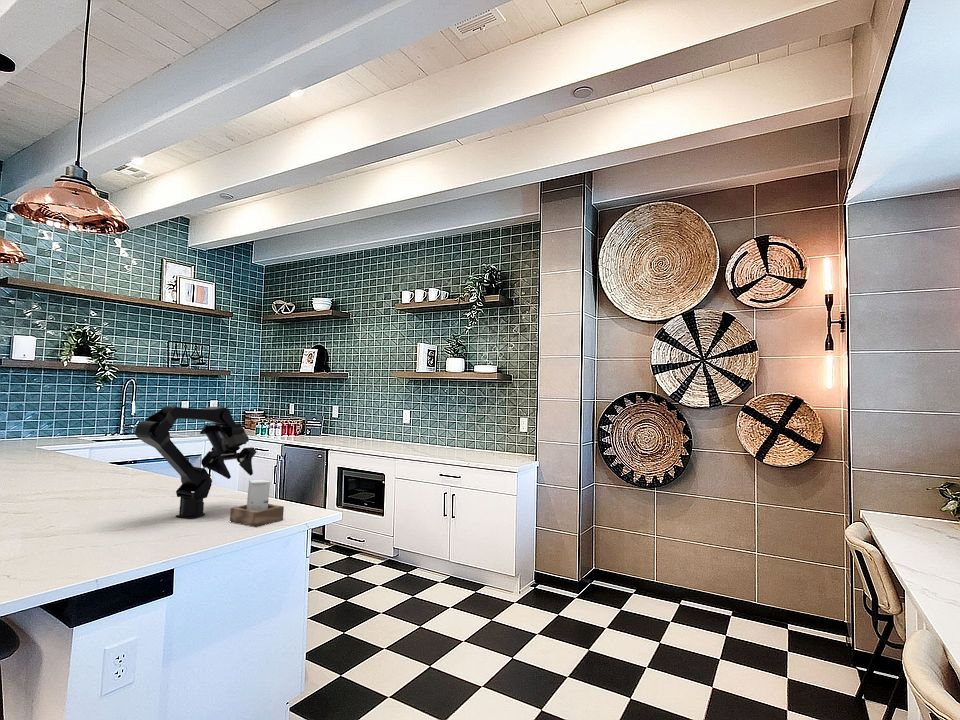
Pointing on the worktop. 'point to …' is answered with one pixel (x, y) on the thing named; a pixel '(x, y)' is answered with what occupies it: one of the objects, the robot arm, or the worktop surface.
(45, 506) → the worktop surface
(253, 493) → the skincare box
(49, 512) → the worktop surface
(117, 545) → the worktop surface
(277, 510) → the walnut socket
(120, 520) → the worktop surface
